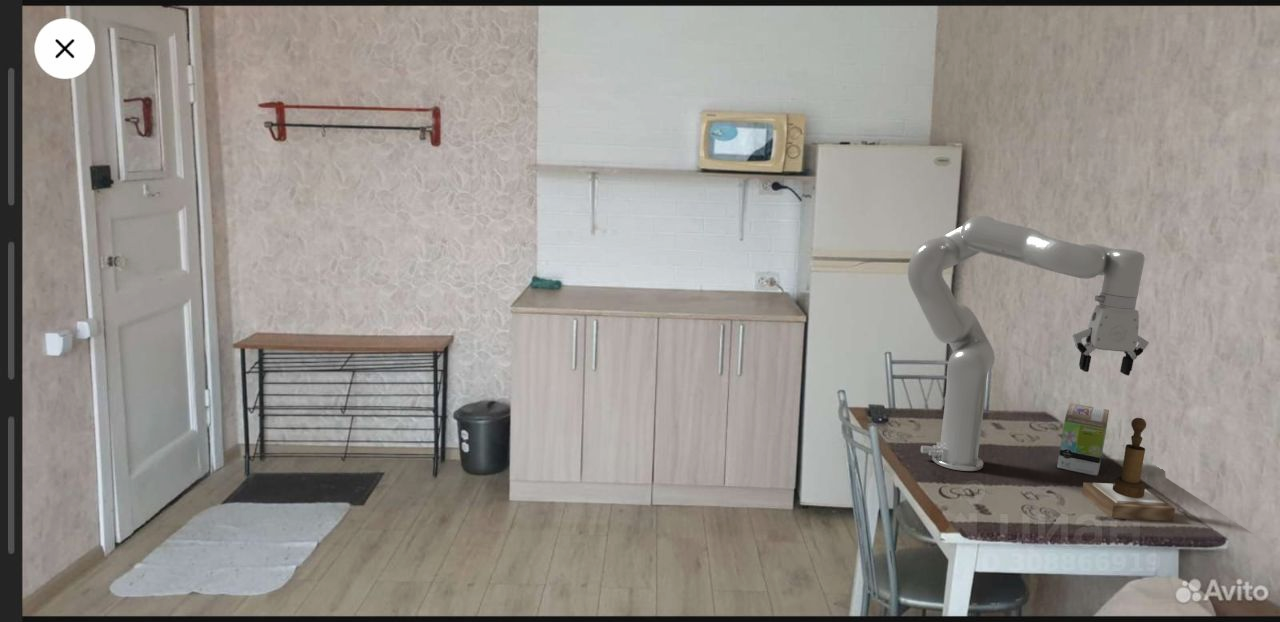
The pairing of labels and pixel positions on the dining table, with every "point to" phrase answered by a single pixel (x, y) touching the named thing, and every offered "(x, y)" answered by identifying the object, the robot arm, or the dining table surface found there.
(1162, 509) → the plinth
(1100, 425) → the tea box
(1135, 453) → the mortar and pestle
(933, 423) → the dining table surface
